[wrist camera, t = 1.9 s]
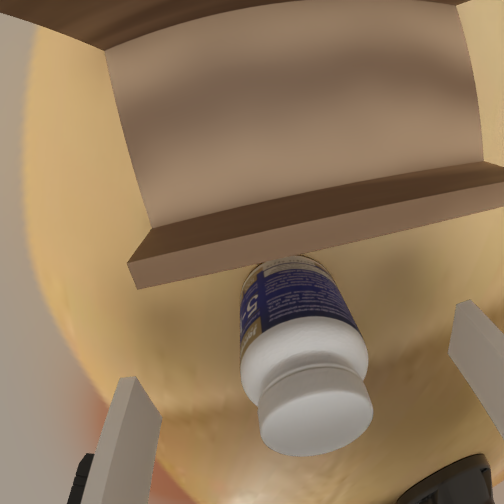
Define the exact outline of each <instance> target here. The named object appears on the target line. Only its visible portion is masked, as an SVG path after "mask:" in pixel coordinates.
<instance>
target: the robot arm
mask: <svg viewBox="0 0 504 504" xmlns="http://www.w3.org/2000/svg"><path fill="white" fill-rule="evenodd" d="M448 355H449V356H450V357H451V359H452V360H453V362H454V363H455V365H456V366H457V367H458V369H459V370H460V372H461V373H462V375H463V376H464V378H465V379H466V381H467V382H468V384H469V385H470V387H471V388H472V390H473V391H474V393H475V394H476V396H477V397H478V399H479V400H480V402H481V403H482V405H483V407H484V408H485V410H486V411H487V413H488V415H489V416H490V418H491V419H492V421H493V423H494V424H495V426H496V428H497V429H498V431H499V433H500V434H501V436H502V438H503V439H504V334H503V333H502V332H501V331H500V330H499V329H498V328H497V327H496V325H495V324H494V323H493V322H492V321H491V320H490V319H489V318H488V317H487V316H486V315H485V314H484V313H483V312H482V311H481V310H480V309H479V308H478V307H477V306H476V305H475V304H474V303H473V302H472V301H471V300H467V301H464V302H462V303H459V304H456V309H455V316H454V322H453V328H452V334H451V339H450V344H449V349H448ZM161 422H162V416H161V415H160V413H159V412H158V410H157V409H156V407H155V406H154V404H153V403H152V401H151V400H150V398H149V396H148V395H147V393H146V392H145V390H144V389H143V387H142V385H141V384H140V382H139V381H138V379H137V377H125V378H120V379H119V382H118V385H117V388H116V391H115V394H114V396H113V399H112V402H111V405H110V408H109V411H108V414H107V417H106V420H105V423H104V426H103V429H102V432H101V435H100V439H99V442H98V445H97V448H96V451H95V454H89V453H87V454H86V455H85V456H84V458H83V459H82V460H81V462H80V463H79V466H78V469H77V472H76V477H75V478H74V482H73V486H72V488H71V492H70V495H69V499H68V502H67V504H148V498H149V491H150V485H151V479H152V473H153V467H154V461H155V455H156V449H157V444H158V438H159V433H160V427H161ZM397 504H495V503H494V500H493V492H492V479H491V469H490V465H489V463H488V461H487V459H486V457H485V456H484V455H482V454H479V455H474V456H471V457H468V458H465V459H463V460H461V461H458V462H456V463H454V464H452V465H450V466H448V467H446V468H444V469H442V470H440V471H439V472H437V473H435V474H433V475H431V476H430V477H428V478H426V479H425V480H423V481H422V482H420V483H418V484H417V485H415V486H414V487H413V488H411V489H410V490H408V491H407V492H406V493H405V494H404V495H402V496H401V497H400V499H399V500H398V502H397Z"/></svg>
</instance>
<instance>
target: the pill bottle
mask: <svg viewBox="0 0 504 504" xmlns="http://www.w3.org/2000/svg"><path fill="white" fill-rule="evenodd" d="M367 369H368V352H367V348H366V345H365V342H364V340H363V338H362V335H361V333H360V331H359V329H358V327H357V325H356V323H355V321H354V319H353V317H352V315H351V313H350V311H349V309H348V307H347V305H346V303H345V301H344V300H343V298H342V296H341V294H340V292H339V290H338V288H337V286H336V284H335V282H334V280H333V278H332V277H331V275H330V274H329V272H328V271H327V270H326V269H325V268H324V267H323V266H322V265H320V264H319V263H318V262H316V261H314V260H312V259H309V258H306V257H302V256H290V257H285V258H281V259H276V260H272V261H267V262H265V263H263V264H261V265H260V266H258V267H257V268H256V269H255V270H254V271H252V273H251V274H250V275H249V276H248V278H247V279H246V281H245V283H244V285H243V288H242V291H241V295H240V374H241V382H242V386H243V389H244V391H245V393H246V394H247V396H248V398H249V399H250V400H251V401H252V402H253V403H254V404H255V405H256V406H257V407H258V418H259V427H260V434H261V438H262V440H263V442H264V443H265V444H266V445H267V446H268V447H269V448H270V449H272V450H274V451H276V452H278V453H281V454H284V455H289V456H315V455H320V454H324V453H328V452H331V451H334V450H337V449H339V448H342V447H344V446H346V445H348V444H349V443H351V442H353V441H354V440H355V439H357V438H358V437H359V436H360V435H361V434H362V433H363V432H364V431H365V430H366V429H367V428H368V426H369V424H370V423H371V420H372V418H373V406H372V403H371V400H370V397H369V394H368V392H367V389H366V386H365V384H364V383H363V380H364V378H365V376H366V373H367Z"/></svg>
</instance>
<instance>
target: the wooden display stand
mask: <svg viewBox="0 0 504 504" xmlns="http://www.w3.org/2000/svg"><path fill="white" fill-rule="evenodd" d="M467 1H470V0H0V13H3V14H7V15H10V16H13V17H16V18H19V19H23V20H26V21H29V22H32V23H34V24H37V25H40V26H43V27H46V28H49V29H51V30H54V31H57V32H59V33H62V34H65V35H67V36H70V37H72V38H75V39H77V40H80V41H82V42H85V43H87V44H90V45H92V46H94V47H97V48H99V49H101V50H104V51H105V56H106V61H107V66H108V70H109V75H110V79H111V84H112V88H113V92H114V97H115V101H116V105H117V109H118V113H119V117H120V121H121V125H122V129H123V133H124V136H125V140H126V144H127V147H128V151H129V155H130V158H131V162H132V165H133V169H134V172H135V175H136V179H137V182H138V185H139V189H140V192H141V195H142V198H143V202H144V205H145V208H146V211H147V214H148V217H149V220H150V223H151V226H152V229H151V231H150V232H149V233H148V235H147V236H146V237H145V239H144V240H143V242H142V243H141V244H140V246H139V247H138V248H137V250H136V251H135V253H134V254H133V255H132V257H131V258H130V260H129V261H128V262H127V265H128V268H129V270H130V273H131V275H132V278H133V280H134V283H135V285H136V287H137V289H142V288H147V287H152V286H156V285H161V284H166V283H171V282H175V281H180V280H185V279H189V278H194V277H199V276H203V275H208V274H213V273H217V272H222V271H226V270H231V269H236V268H240V267H245V266H249V265H254V264H258V263H263V262H267V261H272V260H276V259H281V258H285V257H290V256H294V255H299V254H303V253H308V252H312V251H317V250H321V249H325V248H330V247H334V246H339V245H343V244H347V243H352V242H356V241H360V240H365V239H369V238H373V237H378V236H382V235H386V234H390V233H395V232H399V231H403V230H408V229H412V228H416V227H420V226H424V225H429V224H433V223H437V222H441V221H445V220H450V219H454V218H458V217H462V216H466V215H470V214H474V213H479V212H483V211H487V210H491V209H495V208H499V207H503V206H504V167H501V166H498V165H495V164H491V163H488V162H485V161H484V159H483V144H482V132H481V122H480V114H479V106H478V99H477V93H476V87H475V81H474V76H473V70H472V65H471V61H470V56H469V52H468V48H467V43H466V39H465V36H464V32H463V28H462V25H461V21H460V18H459V14H458V11H457V8H456V5H459V4H461V3H464V2H467Z"/></svg>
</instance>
